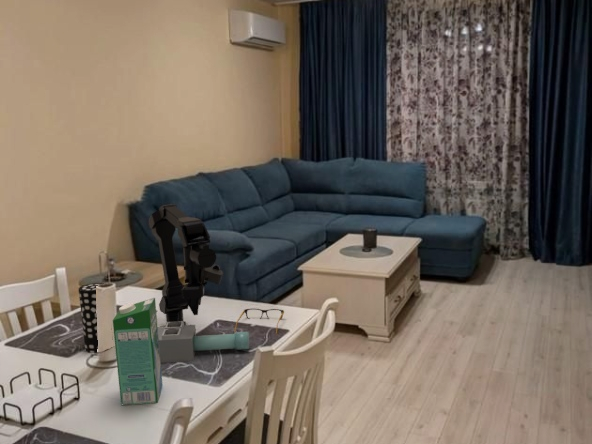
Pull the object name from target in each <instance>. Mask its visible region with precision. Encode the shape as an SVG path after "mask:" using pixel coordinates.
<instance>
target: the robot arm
mask: <svg viewBox="0 0 592 444" xmlns="http://www.w3.org/2000/svg"><path fill="white" fill-rule="evenodd" d="M148 226H149V229H151V233H152V235H153V237H154V238H156V241H158V247H159V248H158V249H159V253H160V258H161V266H162V271H163V277H164V282H165V283H164V286H163V288H162V290H161V295H162V296H161V299H160V301H159V304H158V308H159V312H161V313H163V315H165V320H166V321H165V322H166V323H167V322H173V321H184V310H188V309H189V308H190V309H189V310H190V311H191V312H192V313H191V314H192V315H193V316H198V314H199V307H200V306H201V303H202V298H203V297H204V295H205V286H206V285H207V284H208V282H210V283H213V284H215V285H220V284H221V281H222V278H223V275H224V271H223V269H222V270H221V269H220V268H221V267H220V265H218V264H215V263H216V260H217V255H216V253H215V251H214V250H213V249H212V248H210V245H209V243H211V239H210V238H211V235H210V233H209V232H208V229H207V227H206V225H205V223H204V222H203V221H202V219H200V218H197V217H192V216H188V215H187V214H186V213H184V212H183V211H182V210H181V209H179V207H178V206H177V204H174V203H173V204H172V203H171V204H165V205H164V204H163V205H162V206H159V209H157V210H155V211H154V212H153V213H151V215H150V216H149V219H148ZM176 230H177V235H178V236H179V238H180V241H181V245H182V246H183V259H184V260H183V262H184V265H183V270H184V273H185V274H184V276H185V277H184V284H183V283H182V282H181V281H180V275H179V270H178V265H177V258H176V252H175V246H174V242H173V237H174V235H175V232H176ZM184 325H187V322H186V321H184Z"/></svg>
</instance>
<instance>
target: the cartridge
mask: <svg viewBox="0 0 592 444" xmlns="http://www.w3.org/2000/svg"><path fill="white" fill-rule="evenodd" d="M249 336H250V333H249V331H236V332H235V331H234V333H224V334H223V333H222V334H210V335H208V334H207V335H196V336H193V348H194V351H195V352H199V351H213V350H218V351H219V350H231V349H235V350H239V351H240V350H249V349H250V337H249Z"/></svg>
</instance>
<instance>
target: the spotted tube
mask: <svg viewBox="0 0 592 444" xmlns="http://www.w3.org/2000/svg"><path fill="white" fill-rule="evenodd" d="M102 284H105V282H104V283H103V282H94V283H87V284H84V285H82V286H79V287H78V297H79V298H78V299H79V306H80V307H79V308H80V314H81V315H80V316H81V324H82V334H83V341H84V349H85V352H87V353H89V354H98V353H97V349H98V340H97V314H96V286H98V285H102Z"/></svg>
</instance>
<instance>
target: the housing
mask: <svg viewBox="0 0 592 444" xmlns="http://www.w3.org/2000/svg"><path fill="white" fill-rule="evenodd" d="M178 322H180V327H169V323H170V322H166V325H165V326H157V327H158V338H159V350H160V361H161V364H162V363H163V364H164V363H179V362H181V363H182V362H194V358H195V355H196V351H194V348H193V336H197V328H196V324H185V325H184V322H185V321H184V320H183V321H178ZM172 328H174V329H177V334H171V335H166V330H168V329H172Z"/></svg>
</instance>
